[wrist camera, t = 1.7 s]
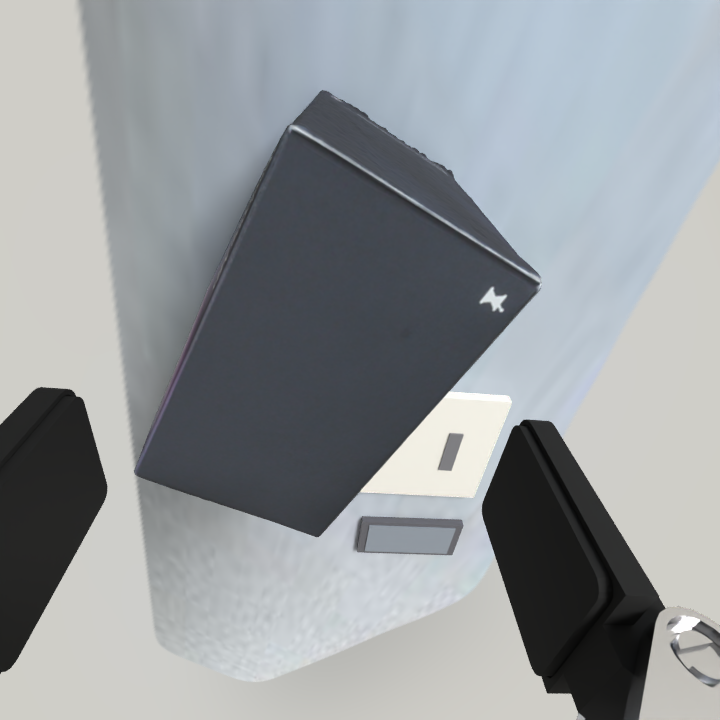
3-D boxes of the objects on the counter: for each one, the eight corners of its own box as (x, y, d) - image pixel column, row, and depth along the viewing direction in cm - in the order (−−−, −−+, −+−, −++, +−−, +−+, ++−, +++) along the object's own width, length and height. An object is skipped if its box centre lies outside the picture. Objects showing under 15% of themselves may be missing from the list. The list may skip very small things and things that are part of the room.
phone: (362, 509, 31) (362, 523, 30) (460, 513, 31) (463, 527, 30) (357, 539, 32) (357, 553, 32) (449, 542, 33) (452, 556, 32)
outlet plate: (310, 381, 23) (309, 389, 23) (508, 395, 24) (512, 403, 24) (303, 481, 28) (302, 490, 27) (471, 490, 29) (474, 498, 28)
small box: (312, 76, 16) (279, 97, 7) (456, 173, 18) (566, 281, 9) (210, 306, 21) (117, 483, 12) (331, 361, 23) (327, 546, 14)
